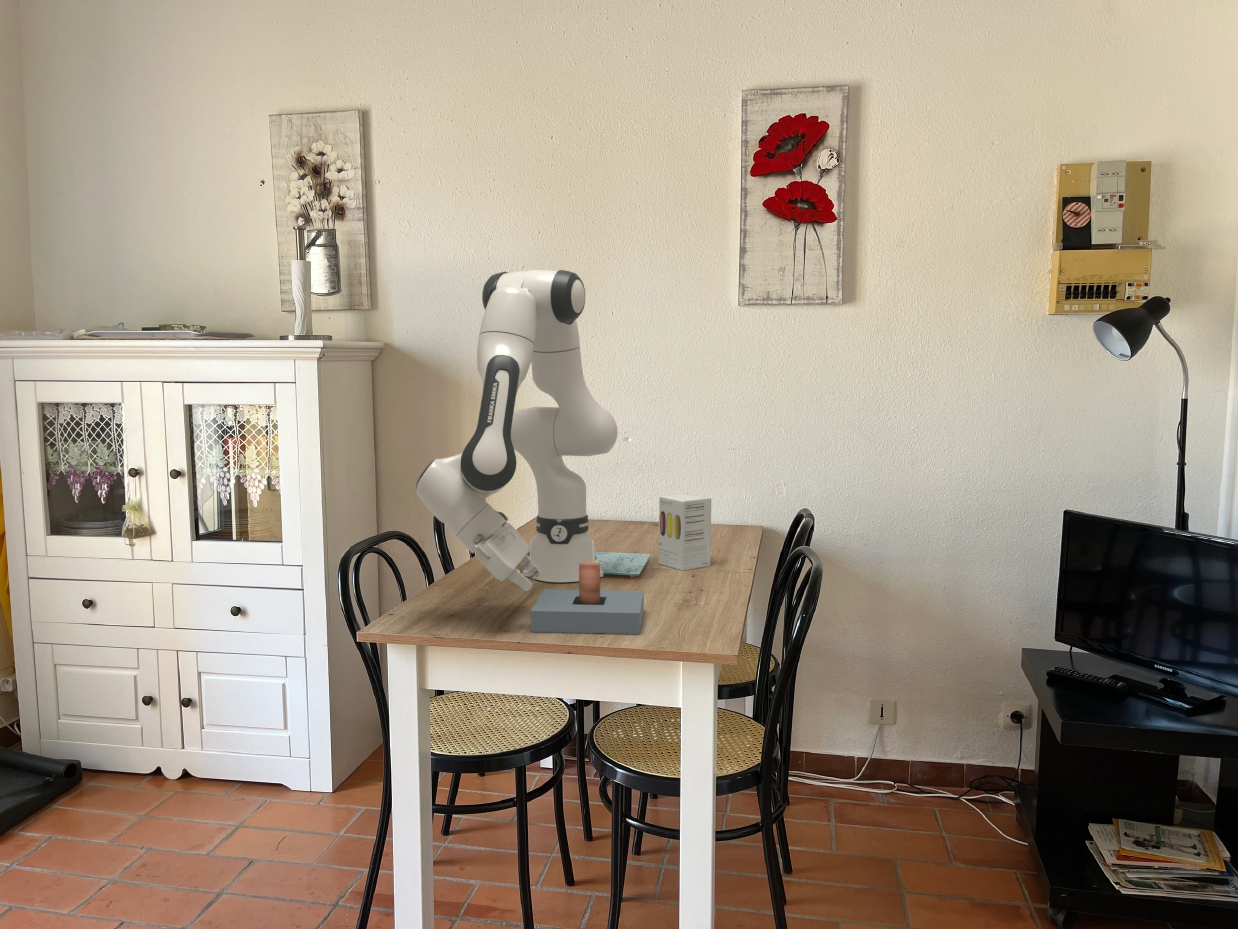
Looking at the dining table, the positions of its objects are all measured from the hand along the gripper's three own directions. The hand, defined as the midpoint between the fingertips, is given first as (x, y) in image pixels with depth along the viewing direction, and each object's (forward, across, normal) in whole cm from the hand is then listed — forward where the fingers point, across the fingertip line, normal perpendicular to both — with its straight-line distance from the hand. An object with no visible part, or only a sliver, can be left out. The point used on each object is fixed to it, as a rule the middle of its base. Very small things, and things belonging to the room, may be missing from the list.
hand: (534, 582), depth 177 cm
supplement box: (+26, +50, -15) cm, 58 cm away
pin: (+12, 0, -3) cm, 12 cm away
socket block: (+13, 0, -2) cm, 13 cm away
